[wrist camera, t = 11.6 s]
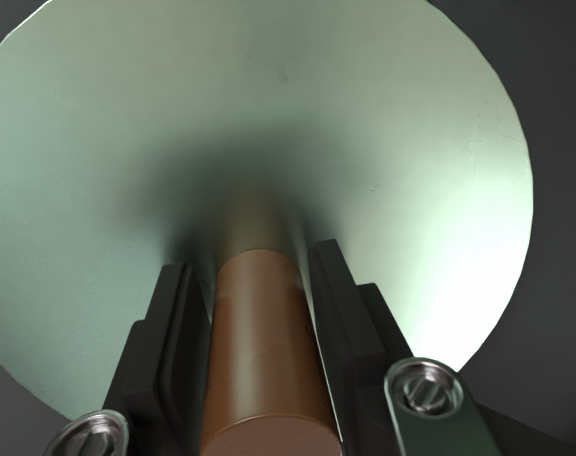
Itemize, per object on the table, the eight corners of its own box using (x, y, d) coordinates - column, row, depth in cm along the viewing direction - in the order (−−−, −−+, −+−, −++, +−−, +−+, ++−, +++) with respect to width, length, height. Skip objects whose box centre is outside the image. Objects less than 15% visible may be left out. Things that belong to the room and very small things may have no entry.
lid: (557, -91, 9) (1116, -296, 3) (477, 393, 16) (602, 588, 10) (-181, 1, 8) (-1113, -54, 2) (89, 461, 15) (3, 705, 10)
